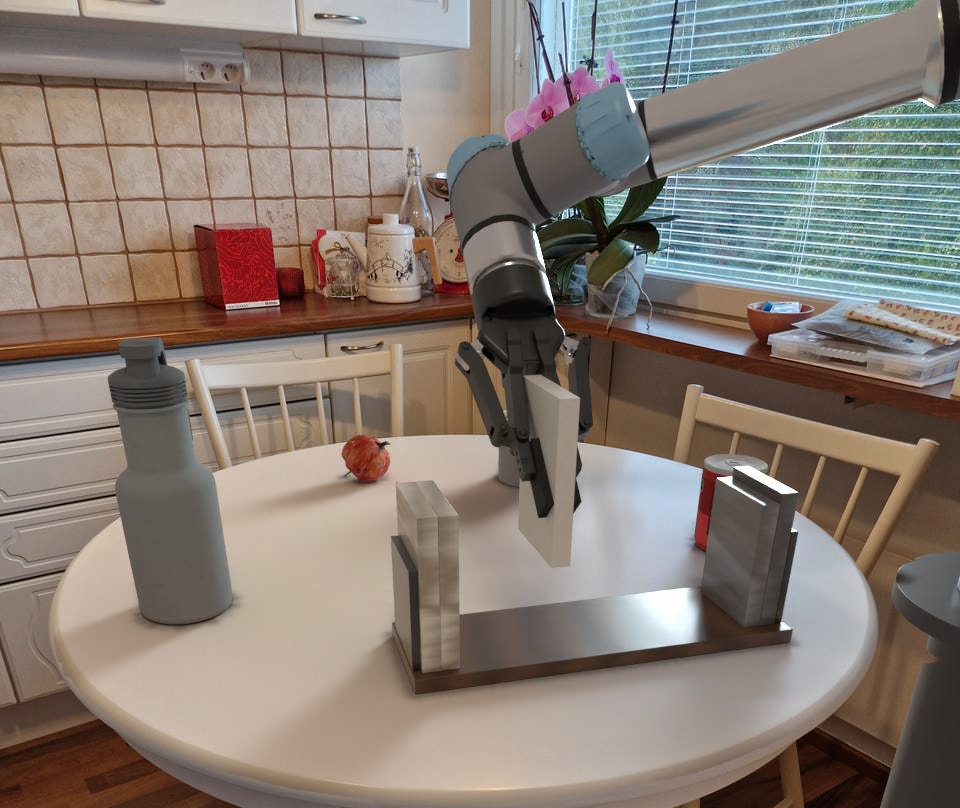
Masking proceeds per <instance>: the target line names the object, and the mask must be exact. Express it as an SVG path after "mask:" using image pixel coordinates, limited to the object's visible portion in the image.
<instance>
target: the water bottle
mask: <svg viewBox="0 0 960 808" xmlns="http://www.w3.org/2000/svg"><path fill="white" fill-rule="evenodd" d="M117 345H118V350H119V356H120V359H124V362H125V367H121V368H119V369H116V370H114V371H112V372H111V373H110V374H109V375H108V376H107V383H108V389H109V393H110V398H111V403H113V404H112V408H113V409H114V411H116V414H117V419H118V424H119V430H120V434H121V440H122V444H123V449H124V454H125V461H126V465H127V466H126V468H125V469H124V470H123V471H121V472H120V474H119V475H118V477H117V478H116V481H115V484H114V490H115V491H114V492H115V496H116V497H115V498H116V502H117V506H118V512H119V516H120V521H121V526H122V530H123V535H124V539H125V545H126V550H127V554H128V559H129V564H130V569H131V573H132V578H133V584H134V587H135V592H136V597H137V601H138V607H139V609H140V612H141V613H142V614H143V616H144V617H146V618H147V619H149V620H150V621H153V622H155V623H160V624H165V625H189V624H195V623H199V622H203V621H206V620H210V619H211V618H214V617H216V616H218V615H220V614H221V613H223V612H224V611H225V610H227V608H229V606H230V605H231V603H232V600H233V595H234V593H233V587H232V580H231V574H230V569H229V560H228V555H227V549H226V542H225V536H224V529H223V522H222V515H221V509H220V502H219V495H218V489H217V483H216V478H215V476H214V474H213V472H212V470H211V469H210V468H208V467H207V466H206V465H205V464H203V463H201V462H199V461H198V460H197V458H196V453H195V448H194V435H193V429H192V423H191V416H190V410H189V408H188V405H189V404H190V400H189V398H188V397H189V393H188V389H187V384H186V383H187V381H186V376H185V375H186V374H185V372H184V371H183V370H181V369H179V368H177V367H176V366H173V365H168V359H167V355H166V351H165V347H164V343H163V340H162V337H141V338H140V337H139V338H123V339H122V340H121V341H120V342H119V343H118V344H117Z"/></svg>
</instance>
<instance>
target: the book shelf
mask: <svg viewBox="0 0 960 808" xmlns="http://www.w3.org/2000/svg"><path fill="white" fill-rule="evenodd" d="M395 496H396V497H395V498H396V516H397V518H396V521H397V535H391V536H390V547H391V548H390V550H391V551H390V552H391V568H392V569H391V570H392V589H393V610H394V622H392V623H391V629H392V630H391V631H392V632H391V633H392V637H393V640H394V642H395V644H396V645H395V646H396V648H397V650H398V653H399V655H400V658H401V661H402V663H403V666H404V668H405V671H406V673H407V677H408V679H409V681H410V684H411V686H412V689H413V692H414V694H415V695H420V694H427V693H433V692H440V691H441V692H442V691H448V690H455V689H462V688H470V687H478V686H484V685H492V684H499V683H505V682H512V681H519V680H528V679H534V678H535V679H536V678H542V677H548V676H556V675H563V674H570V673H578V672H586V671H591V670H598V669H607V668H613V667H614V668H615V667H620V666H621V667H622V666H629V665H635V664H641V663H642V664H643V663H649V662H657V661H663V660H672V659H679V658H686V657H693V656H700V655H706V654H715V653H722V652H728V651H736V650H743V649H751V648H757V647H758V648H759V647H764V646H765V647H766V646H772V645H778V644H779V645H781V644H785V643H791V641H792V636H793V631H794V628H792V627H790V626H789V625H788V624H787V623H785V621H783V614H784V610H785V605H786V599H787V594H788V588H789V584H790V579H791V573H792V569H793V563H794V558H795V552H796V547H797V542H798V536H799V531H798V530H797V529H795V528H793V525H794V521H795V515H796V510H797V504H798V499H799V492H798V491H796V490H795V489H793V488H791V487H789V486H787V485H785V484H784V483H781V482H780V481H778V480H777V479H774V478H772V477H770V476H768V475H767V476H766V475H764V474H763V473H761V472H759V471H757V470H755V469H753V468H751V467H749V466H743V467H734V468H733V473H732V477H722V478H716V484H715V491H714V499H713V506H712V513H711V520H710V527H709V535H708V542H707V549H706V551H705V558H704V563H703V564H704V565H703V570H702V579H701V585H699V586H690V587H689V586H688V587H680V588H672V589H665V590H657V591H655V590H654V591H648V592H639V593H630V594H622V595H613V596H605V597H596V598H589V599H579V600H572V601H563V602H555V603H546V604H538V605H537V604H536V605H529V606H520V607H510V608H504V609H494V610H487V611H479V612H477V611H476V612H469V613H460V536H459V533H460V532H459V531H460V530H459V525H460V524H459V521H460V519H459V516H460V515H459V514H458V513H457V511H456V510H455V508H454V507H453V506H452V504H451V503H450V502H449V500H448V499H447V497H446V496H445V494H444V493H443V492H442V491H441V489H440V488H439V486H438V484H436V482H435V481H434V480H433V479H431V480H418V481H403V482H402V481H401V482H395Z"/></svg>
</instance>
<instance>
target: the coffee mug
mask: <svg viewBox="0 0 960 808" xmlns="http://www.w3.org/2000/svg"><path fill="white" fill-rule="evenodd" d="M503 412H504V415H505V417H506V420H507V422H508V417H507V409H506V410H503ZM509 450H510V448H509V447H505V446H501V447H498V461H497V462H498V468H497V469H498V471H497V474H498V475H497V476H498V477H497V478H498V481H500V482H501V483H503V484H505V485H508V486H513V487H517V488H519V486H520V477H519V473H518V469H517V464H516V459H515V456H512V455H511V454H510V452H509Z"/></svg>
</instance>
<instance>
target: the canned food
mask: <svg viewBox="0 0 960 808" xmlns="http://www.w3.org/2000/svg"><path fill="white" fill-rule="evenodd" d="M743 466H749V467H751V468H753V469H755V470H757V471H759V472H761V473H763V474H764V475H766V476H768V469H769V468H768V467H769V464H768V463H767V462H766V461H764V460H762V459H760V458H757V457H753V456H749V455H745V454H736V453H720V454H714V455H713V454H712V455H709V456H707V457H706V458H705V459H704V461H703V465H702V472H701V480H700V488H699V495H698V496H699V497H698V503H697V510H696V511H697V512H696V518H695V526H694V533H693V534H694V535H693V537H694V538H693V539H694V543H695V545H696V547H698V549H700V550H702V551H704V552H706V549H707V542H708V535H709V527H710V520H711V513H712V506H713V499H714V491H715V484H716V478H722V477H732V473H733V468H734V467H743Z"/></svg>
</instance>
